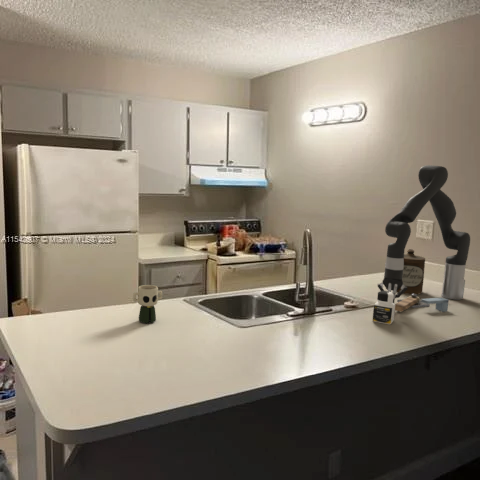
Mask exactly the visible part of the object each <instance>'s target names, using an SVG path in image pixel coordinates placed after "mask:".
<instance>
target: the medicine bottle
mask: <svg viewBox="0 0 480 480" xmlns="http://www.w3.org/2000/svg"><path fill="white" fill-rule="evenodd" d="M393 297H394V294H393V293H392V291H391V292H389V291H388V290H384V291H380V290H379V291H378V292H377V300H376V302H375V303H374V304H373V313H372V322H374V323H380V324H385V325H391V324H392V323H393V322H394V320H395V311H396V310H395V304H396V303H395V302H394V303H393Z"/></svg>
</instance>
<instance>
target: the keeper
mask: <svg viewBox="0 0 480 480" xmlns="http://www.w3.org/2000/svg"><path fill="white" fill-rule="evenodd" d="M449 300H450V299H448V298H444V297H428V298H420V301H421V302H423V303H426V304H430V305H433V304H435V310H437V311H439V312H444V313H445V312H448V309H449Z"/></svg>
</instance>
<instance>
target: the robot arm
mask: <svg viewBox="0 0 480 480" xmlns="http://www.w3.org/2000/svg"><path fill="white" fill-rule="evenodd" d="M417 174H418V175H417V176H418V181H419V184H420V185H421V187H422V190H420V191H418V193H416V194H414V195H413V196H411V197H410V198H409V199H408V200H407V201H406V202H405V204H404V205H403V206H402V208H400V209H401V210H400V211H399V212H398V213H396V214H395V215H394V216H392V218H390V220H388V222H387V223H386V226H385V229H384V231H385V234H386V236H388V237H390V238H396V240H395V242H391V243H389V244H388V245H387V250H386V258H385V264H384V275H383V280H382V282H380V283H377V288H378V290H379V292H380V291H385V290H384V287H385V289H386V291H389V292H391V293H393V294H394V297H393V303H395V299H399V298H400V297H401V296H403V294H404V292H405V291H406V290H407V287H406V286H404V285H403V282H402V277H403V267H404V254H405V250H406V246H407V244H408V241H409V239H410V237H411V233H412V231H411V230H412V229H411V225H410V224H411V223H413V222H415V220H416V218H417V217H418V216H419V214H420V213H421V211H422V209H423V208H424V207H425V206H426V204H427V203H430V206H431V208H432V211H433V213H434V216H435V219H436V221H437V222H438V223H437V224H438V227H439V229H440V232H441V235H442V240H443V243H444V246H445V247H446V248H447V249H450V250H454V251H457V252H456V253H455V254H453V255H450V256H446V258H445V264H444V273H443V282H442V290H441V298H445V299H448V300H456V301H457V300H459V301H460V300H462V299H464V294H465V285H466V279H465V276H466V275H465V274H466V267H467V266H466V265H467V261H468V257H469V256H468V255H469V250H470V245H471V234H469V232H466V231H457V230H454V229H453V228H452V224H453V222H454V221H455V218H456V217H457V210H456V207H455V204H454V202H453V200H452V199H451V198H450V197H449V195H447V193H445V192H444V191H443V190H441V189H442V188H443V187H444V186H445V184H446V183H447V181H448V176H449V172H448V169H447V168H446V167H445V166H440V165H430V164H427V165H423V166H421V167H420V168H419V170H418V173H417ZM401 286H402V287H401ZM400 287H401V290H400V291H399V292H396V291H397V290H398V289H399V288H400Z"/></svg>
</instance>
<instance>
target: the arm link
mask: <svg viewBox="0 0 480 480" xmlns="http://www.w3.org/2000/svg"><path fill="white" fill-rule="evenodd" d="M401 300H402V301H400V302H396V303H395V311H397V312H400V313H402V312H404V311H405V310H407V309H409V308H412V307H411V306H413V305H414V304H416V303H419V301H421V298H420V297H419V296H417V297H411V295H408V297H406V298H404V300H403V299H401Z"/></svg>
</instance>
